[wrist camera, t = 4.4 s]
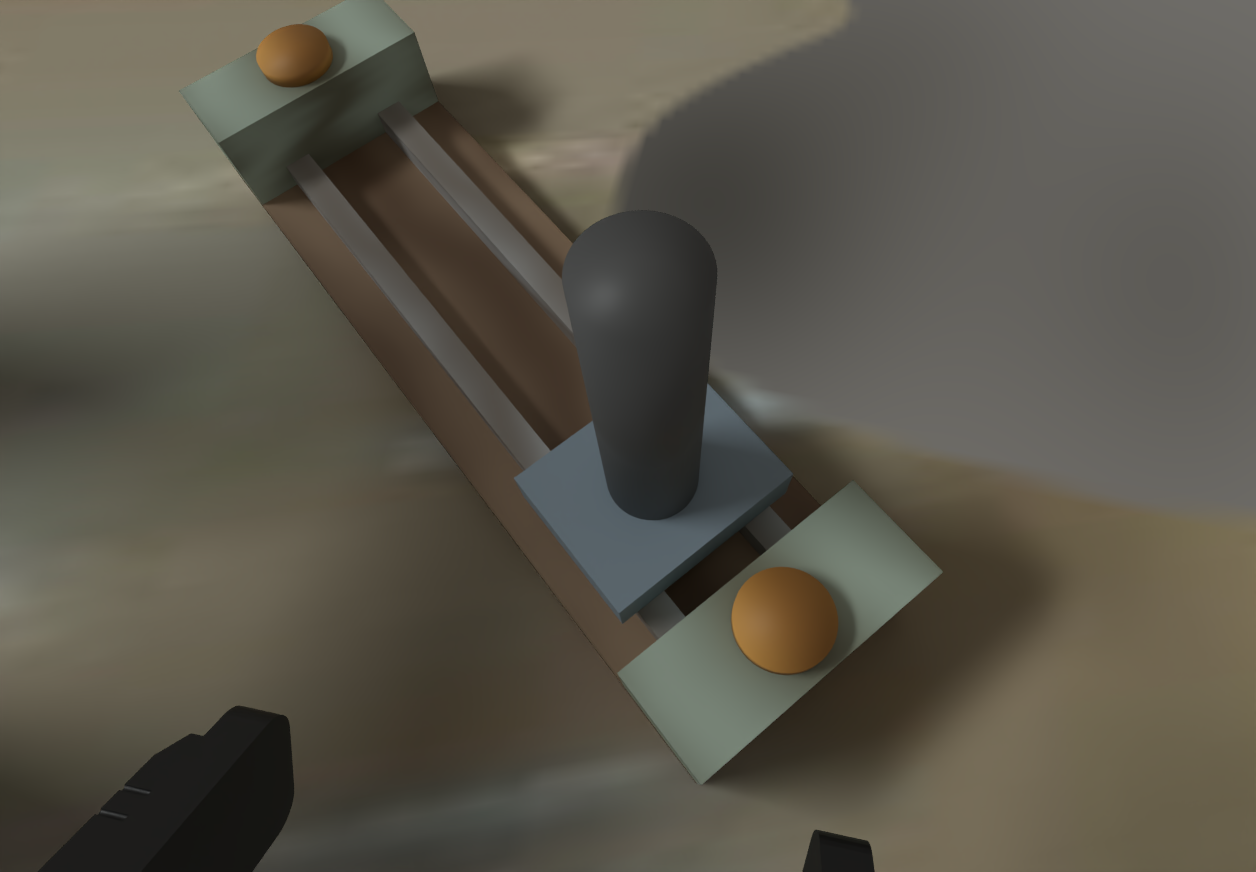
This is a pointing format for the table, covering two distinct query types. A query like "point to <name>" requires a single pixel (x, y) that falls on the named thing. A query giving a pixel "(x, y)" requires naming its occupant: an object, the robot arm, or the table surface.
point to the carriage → (647, 417)
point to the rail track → (530, 372)
